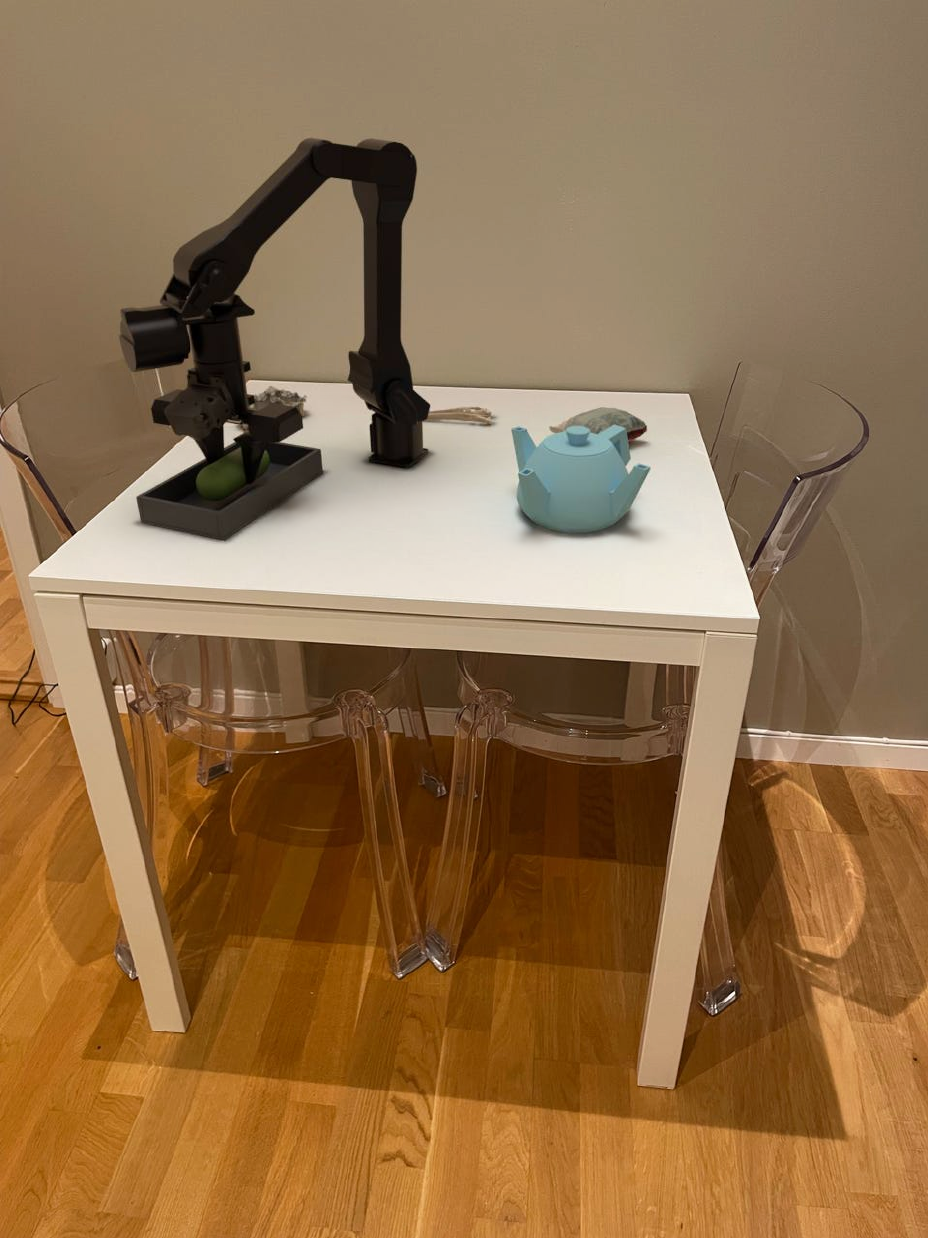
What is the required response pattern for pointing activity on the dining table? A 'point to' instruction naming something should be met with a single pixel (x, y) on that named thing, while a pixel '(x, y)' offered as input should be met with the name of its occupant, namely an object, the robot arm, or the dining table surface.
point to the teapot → (576, 478)
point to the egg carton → (278, 399)
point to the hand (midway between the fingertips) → (235, 480)
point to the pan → (220, 519)
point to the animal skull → (461, 414)
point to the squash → (226, 476)
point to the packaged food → (605, 422)
